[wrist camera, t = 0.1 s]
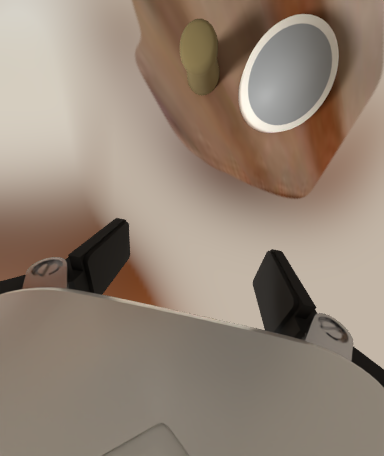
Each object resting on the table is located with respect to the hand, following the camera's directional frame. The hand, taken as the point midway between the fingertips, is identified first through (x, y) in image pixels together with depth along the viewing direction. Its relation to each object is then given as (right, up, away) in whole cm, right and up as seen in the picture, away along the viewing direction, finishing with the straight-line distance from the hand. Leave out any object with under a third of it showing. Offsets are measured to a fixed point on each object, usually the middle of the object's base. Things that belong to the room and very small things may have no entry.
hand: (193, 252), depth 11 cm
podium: (+16, +27, +19) cm, 37 cm away
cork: (+2, +30, +19) cm, 36 cm away
